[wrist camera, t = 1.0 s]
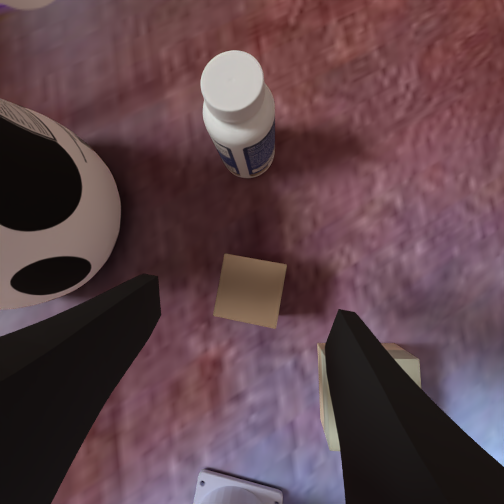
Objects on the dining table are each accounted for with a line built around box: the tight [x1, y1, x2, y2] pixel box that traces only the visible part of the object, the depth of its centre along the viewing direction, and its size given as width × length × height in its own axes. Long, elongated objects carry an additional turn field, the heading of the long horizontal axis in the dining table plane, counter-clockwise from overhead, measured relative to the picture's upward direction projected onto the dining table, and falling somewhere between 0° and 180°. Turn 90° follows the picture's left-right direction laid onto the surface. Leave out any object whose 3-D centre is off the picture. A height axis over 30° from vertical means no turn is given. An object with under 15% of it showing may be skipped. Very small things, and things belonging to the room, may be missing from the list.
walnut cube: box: [213, 254, 287, 329], centre depth 21 cm, size 5×5×5 cm
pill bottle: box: [201, 50, 275, 178], centre depth 19 cm, size 5×5×10 cm
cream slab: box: [317, 343, 421, 451], centre depth 20 cm, size 7×7×4 cm
